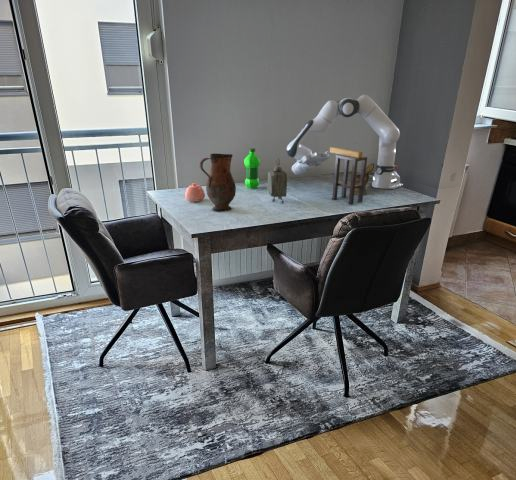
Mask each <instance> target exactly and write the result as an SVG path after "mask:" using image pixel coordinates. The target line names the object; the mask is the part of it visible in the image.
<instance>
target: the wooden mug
mask: <svg viewBox="0 0 516 480" xmlns="http://www.w3.org/2000/svg"><path fill="white" fill-rule="evenodd" d="M374 168H375V164H374V162H373V163H371V164H369V165H368V166H366V174H365V182H364V191H363V196H364V195H366V194H367V185H368V182H369V179H370V174H371V173H372V171H374ZM360 176H361V174H356V182H355V185H360ZM354 195H357V196H358V195H359V188H355V192H354Z"/></svg>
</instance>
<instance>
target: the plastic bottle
mask: <svg viewBox="0 0 516 480" xmlns="http://www.w3.org/2000/svg"><path fill="white" fill-rule="evenodd" d="M248 152H249V154H248V155H247V156H246V157H245V158H244V159H243V164H244V166H245V180H244V184H245V186H246V187H247V188H248V189H249V190H254V189H257V188H258V187H259V186H260V179H259V167H260V164H261V159H260V158H259V156H258V155H256V154H255V152H256V148H255V147H250V148H248Z"/></svg>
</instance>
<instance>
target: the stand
mask: <svg viewBox="0 0 516 480" xmlns="http://www.w3.org/2000/svg"><path fill="white" fill-rule="evenodd" d="M341 159H342V160H344V166H343V175H342V182H339V180H340V168H341V166H340V165H341ZM350 162H352V166H351V176H350V182H348V180H349V179H348V178H349V169H350ZM358 162H361V169H360V175H361V176H360V185H355V182H356V175H357V172H358ZM367 164H368V156H364V155H362V157H361V158H356V157H351V156H346V155H341V154H335V162H334V175H333V188H332V200H337V199H338V189H339V187H341V198H344V199H345V198H346V197H347V189H349V195H348V205H354V200H355V194H354V192H355V188H359V195H357V203H362V202H363V199H364V195H363V191H364V182H365V174H366V168H367Z"/></svg>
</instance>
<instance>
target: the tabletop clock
mask: <svg viewBox="0 0 516 480" xmlns="http://www.w3.org/2000/svg"><path fill="white" fill-rule="evenodd" d="M276 161H277V162H276V166H275V167H274V168H273V169H272V170H270V171H268V172H267V193H268V195H269V196H270V197H273V198H272V199H271V201H272V202H275V201H276V199H275V198H278V200H281V204H284V203H285V201H284V200H283V198H284V197H287V190H288V175H287V172H286V170H284V169H282V167H281V166H280V158H278V157H277V158H276Z"/></svg>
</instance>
